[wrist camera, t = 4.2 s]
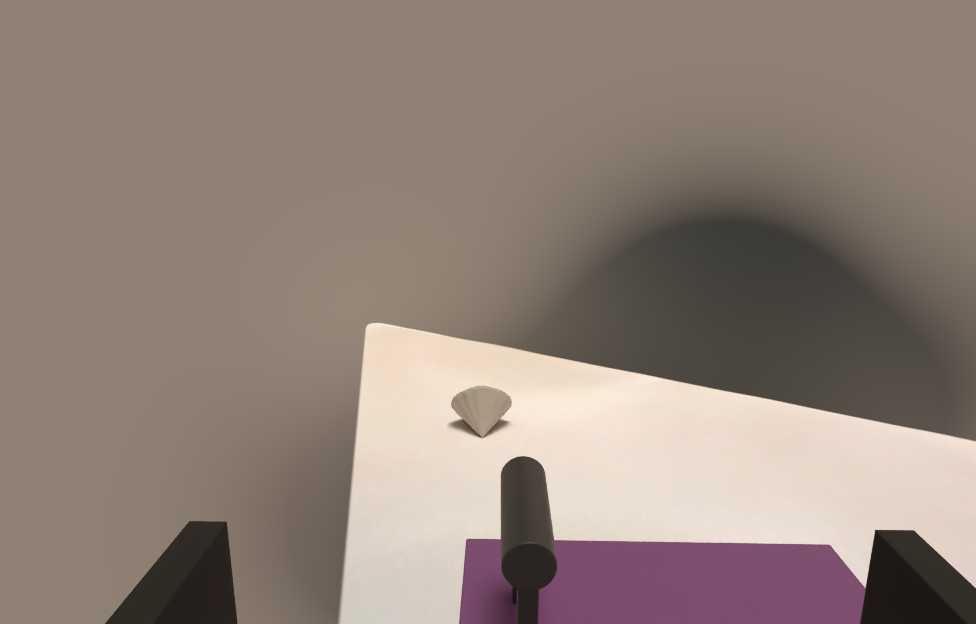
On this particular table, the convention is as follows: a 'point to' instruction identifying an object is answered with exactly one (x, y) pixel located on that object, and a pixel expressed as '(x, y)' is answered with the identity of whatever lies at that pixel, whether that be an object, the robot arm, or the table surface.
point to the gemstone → (481, 407)
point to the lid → (642, 574)
